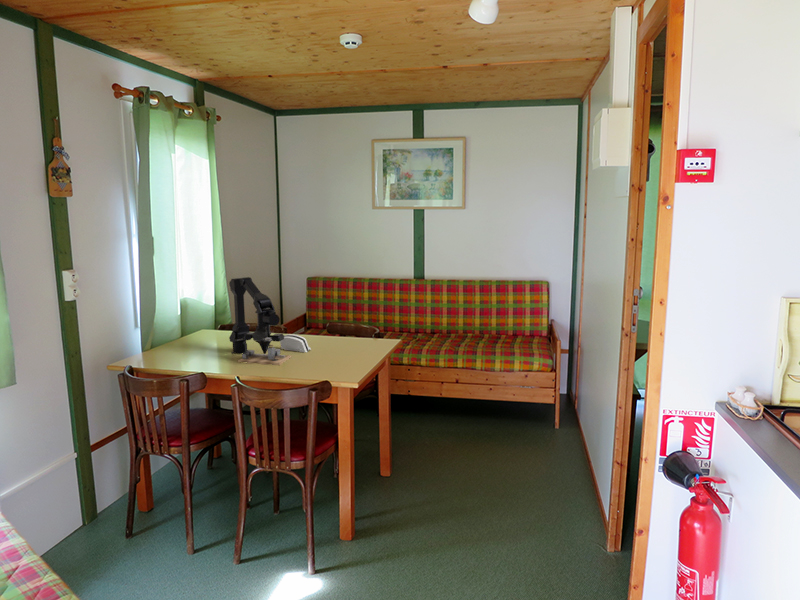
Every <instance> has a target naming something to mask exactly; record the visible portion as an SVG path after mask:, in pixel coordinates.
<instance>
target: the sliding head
mask: <svg viewBox="0 0 800 600" xmlns="http://www.w3.org/2000/svg"><path fill="white" fill-rule="evenodd" d="M267 354H268V360H274V359H275V356H278V355H282V354H281V348H275V346H274V345H273V344H270V345H269V347H268V350H267Z"/></svg>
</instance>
